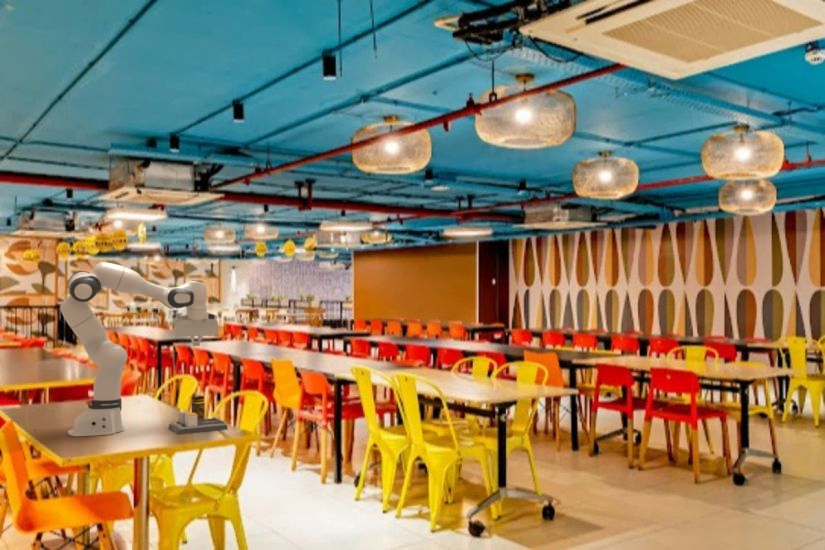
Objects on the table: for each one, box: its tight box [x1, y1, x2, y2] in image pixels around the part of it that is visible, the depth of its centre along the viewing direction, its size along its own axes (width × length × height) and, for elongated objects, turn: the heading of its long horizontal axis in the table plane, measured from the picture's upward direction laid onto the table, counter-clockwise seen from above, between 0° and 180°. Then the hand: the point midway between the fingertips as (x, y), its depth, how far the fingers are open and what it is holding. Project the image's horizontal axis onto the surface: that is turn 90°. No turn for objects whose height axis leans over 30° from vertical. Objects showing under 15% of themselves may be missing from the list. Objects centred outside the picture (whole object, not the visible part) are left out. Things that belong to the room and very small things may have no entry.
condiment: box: [191, 394, 206, 420], centre depth 351 cm, size 7×8×12 cm
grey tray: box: [168, 416, 228, 435], centre depth 332 cm, size 22×15×3 cm
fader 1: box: [178, 410, 191, 424], centre depth 333 cm, size 4×5×5 cm
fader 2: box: [185, 412, 197, 427], centre depth 327 cm, size 4×5×5 cm
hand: (196, 345), depth 337 cm, fingers closed
